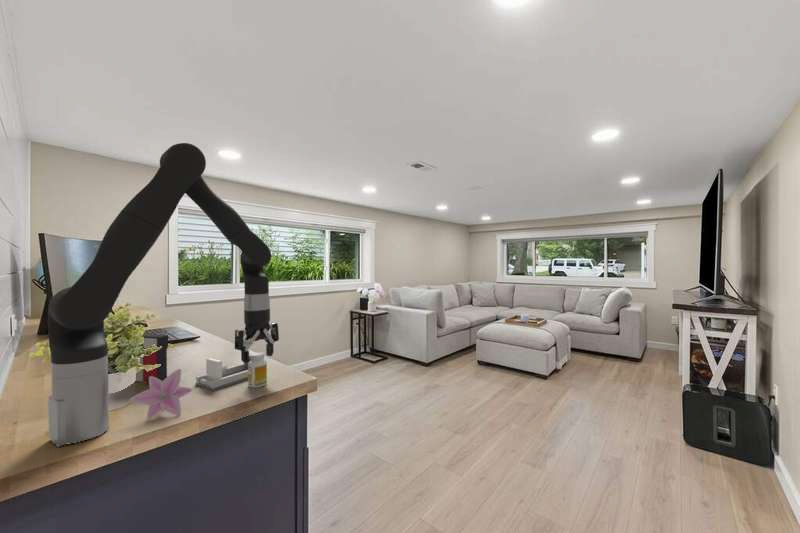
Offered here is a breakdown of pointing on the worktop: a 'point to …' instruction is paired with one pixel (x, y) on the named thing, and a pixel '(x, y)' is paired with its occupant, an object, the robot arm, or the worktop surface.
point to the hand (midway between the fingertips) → (258, 359)
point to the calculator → (154, 358)
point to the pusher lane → (225, 377)
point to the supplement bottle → (257, 370)
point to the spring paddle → (214, 369)
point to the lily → (163, 395)
